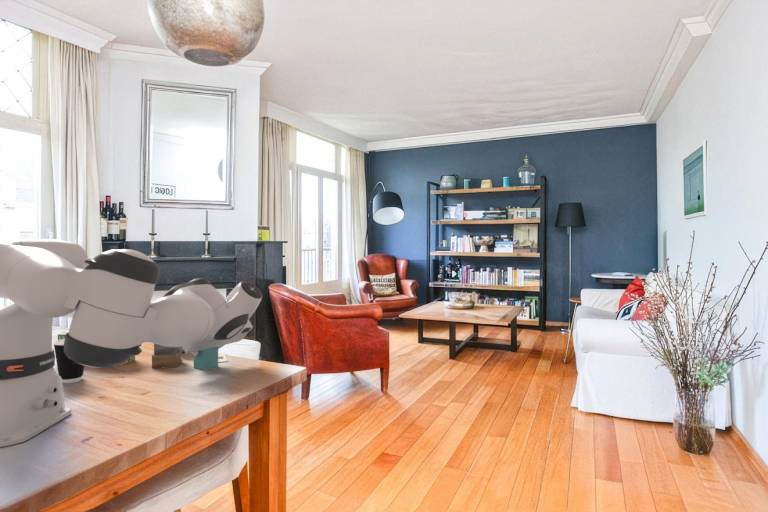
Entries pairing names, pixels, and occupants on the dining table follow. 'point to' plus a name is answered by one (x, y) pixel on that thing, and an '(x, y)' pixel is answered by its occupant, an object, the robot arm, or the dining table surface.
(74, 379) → the dixie cup
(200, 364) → the teal brick
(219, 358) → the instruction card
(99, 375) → the dining table surface
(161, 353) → the grey-brown block
